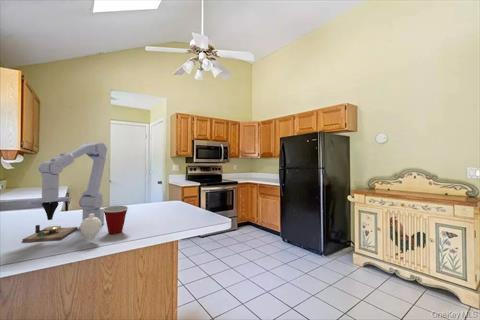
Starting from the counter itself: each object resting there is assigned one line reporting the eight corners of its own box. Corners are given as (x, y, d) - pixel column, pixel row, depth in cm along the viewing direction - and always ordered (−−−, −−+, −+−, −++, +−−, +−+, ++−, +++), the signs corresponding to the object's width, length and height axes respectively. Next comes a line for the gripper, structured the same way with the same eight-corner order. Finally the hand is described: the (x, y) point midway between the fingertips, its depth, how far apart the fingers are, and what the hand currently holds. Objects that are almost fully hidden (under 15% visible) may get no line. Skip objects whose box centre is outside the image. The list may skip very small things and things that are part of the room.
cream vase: (98, 245, 94) (99, 215, 94) (76, 246, 92) (77, 216, 92) (103, 239, 101) (104, 211, 102) (83, 240, 99) (84, 212, 99)
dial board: (77, 229, 115) (77, 223, 115) (61, 239, 100) (61, 233, 100) (44, 231, 112) (44, 225, 112) (22, 242, 96) (22, 235, 96)
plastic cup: (101, 237, 103) (101, 210, 104) (102, 231, 113) (103, 206, 113) (128, 234, 108) (128, 208, 109) (127, 228, 118) (128, 204, 118)
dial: (55, 226, 110) (55, 220, 110) (64, 227, 108) (64, 221, 108) (31, 232, 100) (31, 225, 100) (40, 233, 98) (40, 226, 99)
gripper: (68, 186, 110) (67, 215, 110) (27, 189, 99) (26, 220, 99) (72, 187, 105) (71, 217, 105) (29, 190, 94) (28, 223, 94)
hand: (49, 219), depth 102 cm, fingers closed
